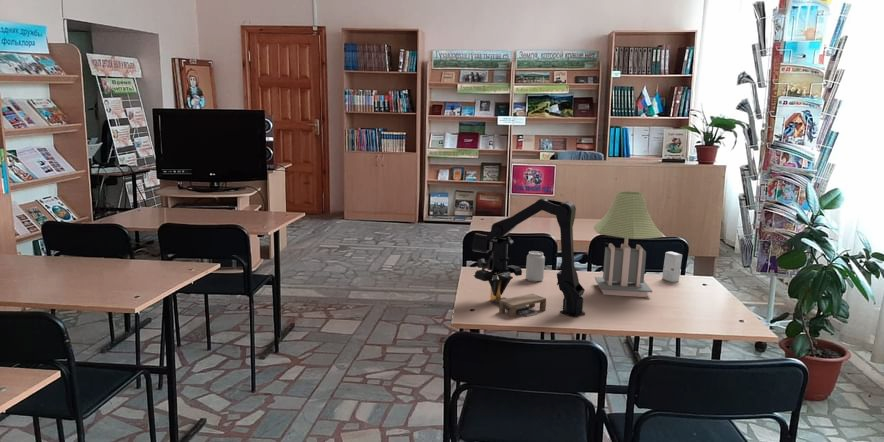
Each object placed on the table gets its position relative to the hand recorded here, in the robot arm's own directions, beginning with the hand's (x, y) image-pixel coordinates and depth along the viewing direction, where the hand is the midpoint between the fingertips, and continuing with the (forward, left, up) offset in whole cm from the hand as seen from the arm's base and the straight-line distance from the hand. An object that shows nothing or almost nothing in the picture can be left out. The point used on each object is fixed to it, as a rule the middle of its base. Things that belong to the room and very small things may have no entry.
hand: (497, 295), depth 238 cm
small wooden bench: (-14, 0, -2) cm, 14 cm away
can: (+15, -34, -3) cm, 37 cm away
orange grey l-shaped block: (-6, 0, -2) cm, 6 cm away
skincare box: (-15, -87, -3) cm, 88 cm away
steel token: (-16, 0, -3) cm, 17 cm away
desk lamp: (-15, -54, -3) cm, 56 cm away
